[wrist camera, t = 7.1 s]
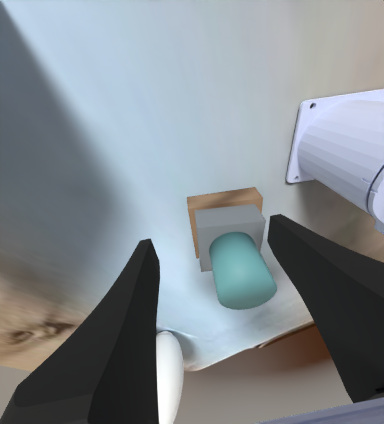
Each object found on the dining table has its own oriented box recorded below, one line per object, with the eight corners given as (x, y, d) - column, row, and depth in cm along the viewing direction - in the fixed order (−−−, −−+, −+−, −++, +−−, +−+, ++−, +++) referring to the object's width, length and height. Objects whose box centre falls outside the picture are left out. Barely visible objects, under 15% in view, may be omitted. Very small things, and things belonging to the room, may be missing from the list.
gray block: (254, 203, 19) (265, 220, 17) (249, 246, 23) (257, 265, 21) (194, 210, 19) (197, 228, 17) (198, 252, 23) (201, 271, 21)
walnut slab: (253, 185, 22) (263, 197, 19) (249, 234, 26) (257, 250, 24) (186, 194, 22) (187, 208, 19) (194, 242, 26) (196, 258, 24)
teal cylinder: (261, 232, 18) (286, 276, 14) (246, 264, 20) (264, 309, 16) (213, 230, 17) (225, 275, 13) (205, 263, 20) (213, 309, 16)
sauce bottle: (156, 342, 43) (146, 475, 28) (140, 329, 39) (118, 478, 24) (187, 335, 42) (193, 469, 27) (174, 321, 38) (172, 471, 23)
